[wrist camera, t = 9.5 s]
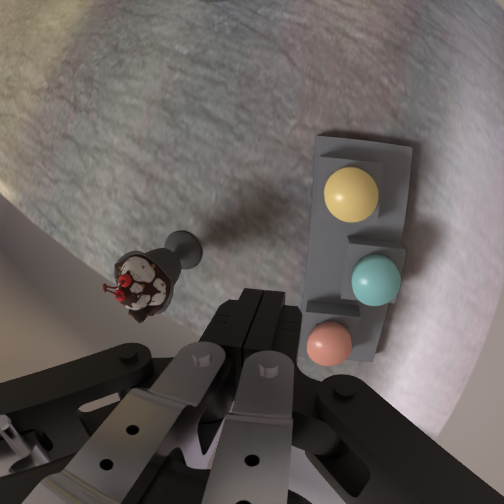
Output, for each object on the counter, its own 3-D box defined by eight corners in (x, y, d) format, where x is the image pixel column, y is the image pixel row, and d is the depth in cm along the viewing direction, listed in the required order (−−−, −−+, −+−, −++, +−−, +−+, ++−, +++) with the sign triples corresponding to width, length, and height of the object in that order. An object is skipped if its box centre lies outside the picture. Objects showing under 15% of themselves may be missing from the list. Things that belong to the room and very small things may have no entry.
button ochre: (325, 162, 29) (326, 165, 25) (373, 167, 28) (380, 171, 25) (322, 209, 31) (322, 219, 27) (368, 214, 30) (375, 225, 26)
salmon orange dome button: (311, 308, 35) (309, 327, 31) (353, 312, 34) (355, 332, 30) (306, 342, 36) (304, 363, 33) (345, 345, 36) (347, 367, 32)
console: (315, 136, 30) (315, 134, 27) (408, 147, 29) (419, 147, 25) (297, 348, 39) (293, 367, 36) (371, 354, 38) (374, 374, 34)
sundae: (175, 212, 37) (97, 256, 23) (218, 248, 37) (159, 311, 23) (150, 251, 39) (76, 305, 25) (190, 284, 40) (129, 354, 26)
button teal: (352, 243, 31) (356, 257, 28) (396, 248, 30) (405, 262, 27) (346, 285, 33) (348, 303, 29) (387, 289, 32) (394, 307, 28)
